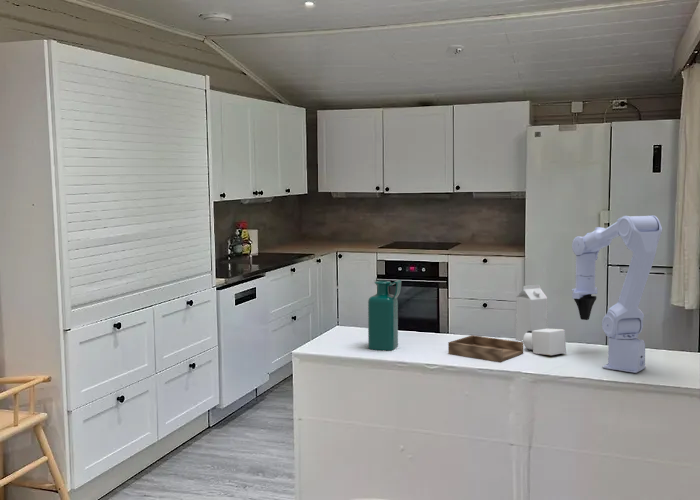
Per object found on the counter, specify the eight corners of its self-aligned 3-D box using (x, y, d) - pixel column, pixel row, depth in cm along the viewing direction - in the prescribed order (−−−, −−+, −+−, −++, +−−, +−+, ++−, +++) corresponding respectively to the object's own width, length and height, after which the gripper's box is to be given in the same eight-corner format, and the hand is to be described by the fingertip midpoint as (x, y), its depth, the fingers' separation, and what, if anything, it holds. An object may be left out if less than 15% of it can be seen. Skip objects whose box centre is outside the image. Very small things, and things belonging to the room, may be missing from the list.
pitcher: (366, 350, 224) (366, 281, 223) (374, 344, 232) (373, 278, 231) (396, 351, 221) (396, 282, 220) (403, 346, 229) (402, 279, 228)
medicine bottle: (566, 352, 214) (537, 350, 225) (565, 329, 215) (535, 327, 225) (550, 355, 211) (521, 352, 221) (548, 331, 211) (519, 329, 221)
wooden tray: (523, 353, 217) (523, 342, 216) (500, 362, 206) (500, 350, 206) (472, 346, 228) (472, 335, 228) (448, 353, 218) (448, 342, 217)
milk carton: (515, 341, 235) (516, 285, 234) (532, 339, 238) (532, 283, 237) (530, 345, 229) (531, 287, 227) (547, 343, 232) (547, 285, 231)
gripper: (582, 272, 224) (581, 314, 225) (562, 276, 213) (562, 321, 214) (604, 274, 219) (603, 317, 220) (585, 278, 208) (585, 323, 209)
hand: (584, 319), depth 217 cm, fingers closed
